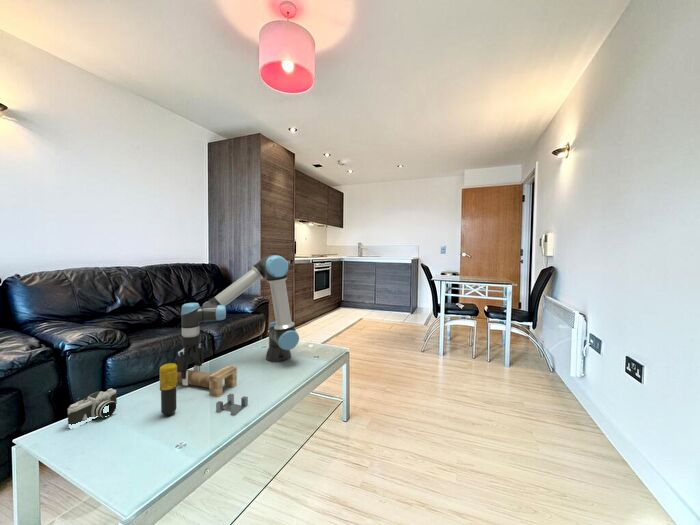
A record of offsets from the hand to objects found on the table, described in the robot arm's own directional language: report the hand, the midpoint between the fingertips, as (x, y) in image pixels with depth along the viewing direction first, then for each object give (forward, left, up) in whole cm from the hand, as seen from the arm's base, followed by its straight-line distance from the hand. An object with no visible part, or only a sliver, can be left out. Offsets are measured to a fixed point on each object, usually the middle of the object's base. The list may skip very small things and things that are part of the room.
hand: (191, 381), depth 136 cm
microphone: (+24, +10, -1) cm, 26 cm away
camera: (+33, -11, -1) cm, 35 cm away
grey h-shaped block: (+12, +34, -1) cm, 36 cm away
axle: (0, +3, -1) cm, 3 cm away
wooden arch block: (0, +19, -1) cm, 19 cm away
